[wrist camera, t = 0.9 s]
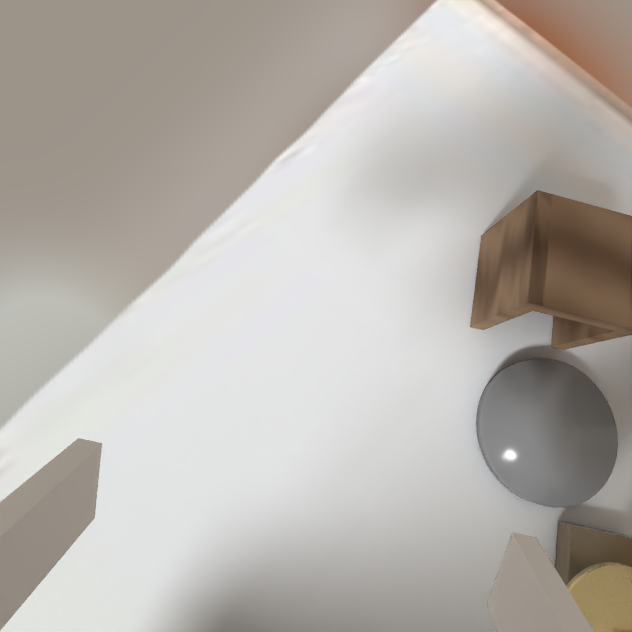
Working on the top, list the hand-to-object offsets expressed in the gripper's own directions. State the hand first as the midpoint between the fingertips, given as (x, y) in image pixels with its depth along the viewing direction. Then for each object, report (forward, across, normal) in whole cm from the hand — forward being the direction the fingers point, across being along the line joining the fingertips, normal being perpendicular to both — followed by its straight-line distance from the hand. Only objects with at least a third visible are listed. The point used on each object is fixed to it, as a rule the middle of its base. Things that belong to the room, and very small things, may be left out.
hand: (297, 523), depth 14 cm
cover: (+29, -17, -6) cm, 34 cm away
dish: (+24, -20, +4) cm, 31 cm away
